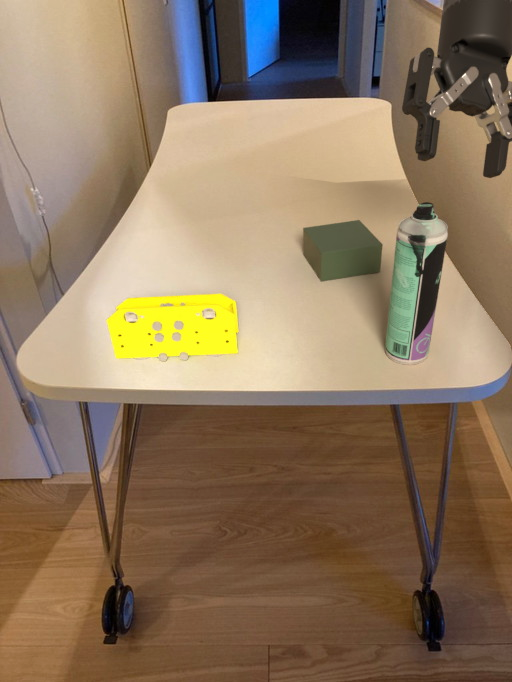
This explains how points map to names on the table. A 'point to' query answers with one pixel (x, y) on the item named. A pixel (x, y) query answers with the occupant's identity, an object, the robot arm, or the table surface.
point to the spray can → (415, 285)
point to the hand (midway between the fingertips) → (460, 167)
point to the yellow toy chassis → (174, 326)
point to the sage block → (341, 250)
